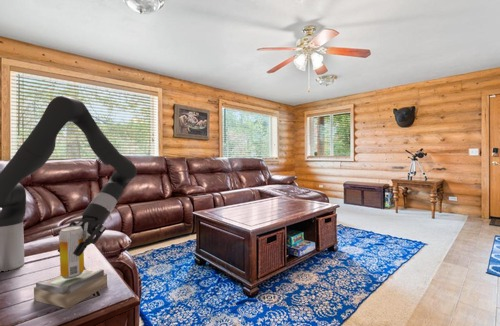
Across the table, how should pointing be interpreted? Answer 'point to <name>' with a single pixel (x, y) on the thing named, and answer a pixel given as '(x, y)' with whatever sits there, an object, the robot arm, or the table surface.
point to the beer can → (70, 252)
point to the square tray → (70, 288)
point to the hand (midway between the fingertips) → (68, 253)
